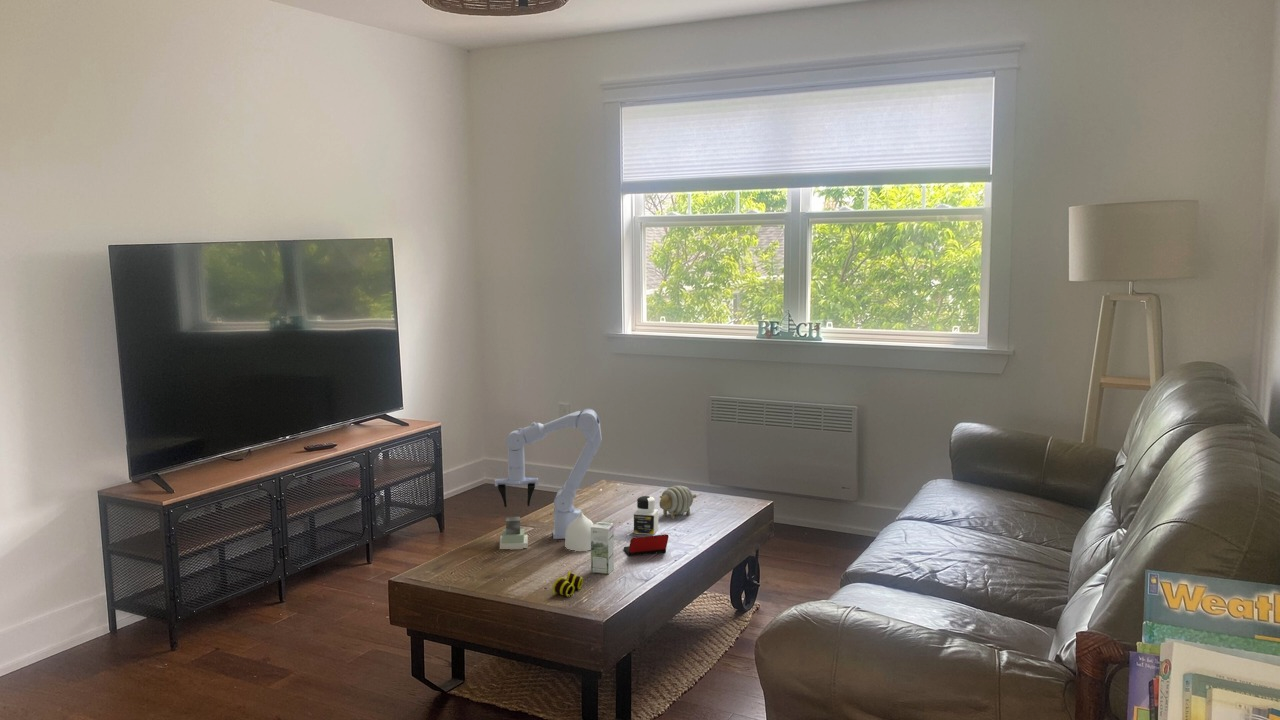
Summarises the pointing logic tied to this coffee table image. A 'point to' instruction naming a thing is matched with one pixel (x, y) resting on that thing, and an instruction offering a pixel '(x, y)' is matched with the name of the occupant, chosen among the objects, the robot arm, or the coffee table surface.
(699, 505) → the coffee table surface
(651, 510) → the medicine bottle
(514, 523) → the slate cube
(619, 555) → the coffee table surface
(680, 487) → the toy sheep
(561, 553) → the coffee table surface
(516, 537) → the tower top slab
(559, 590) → the opera glasses
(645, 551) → the handheld game console
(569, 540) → the teardrop
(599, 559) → the syrup box
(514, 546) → the tower base slab
